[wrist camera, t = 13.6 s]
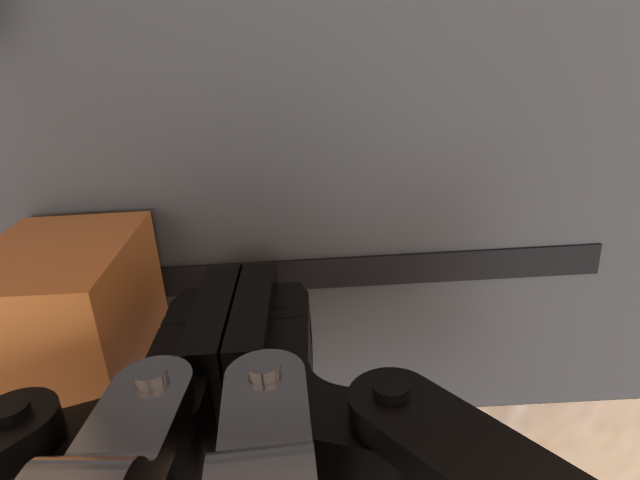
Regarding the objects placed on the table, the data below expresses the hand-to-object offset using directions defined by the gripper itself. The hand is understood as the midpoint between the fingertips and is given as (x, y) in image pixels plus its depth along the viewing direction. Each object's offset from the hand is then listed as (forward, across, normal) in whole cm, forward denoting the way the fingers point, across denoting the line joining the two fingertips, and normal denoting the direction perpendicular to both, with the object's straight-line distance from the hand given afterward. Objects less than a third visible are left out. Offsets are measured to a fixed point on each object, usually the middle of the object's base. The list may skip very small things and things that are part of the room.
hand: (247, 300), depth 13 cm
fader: (+1, +4, 0) cm, 4 cm away
